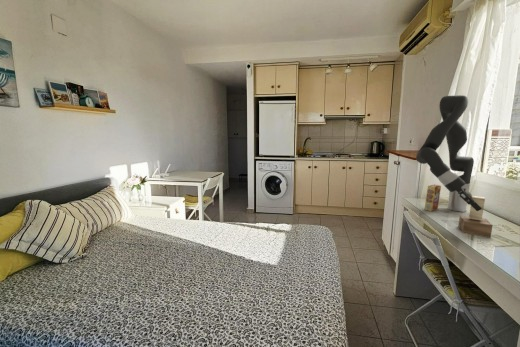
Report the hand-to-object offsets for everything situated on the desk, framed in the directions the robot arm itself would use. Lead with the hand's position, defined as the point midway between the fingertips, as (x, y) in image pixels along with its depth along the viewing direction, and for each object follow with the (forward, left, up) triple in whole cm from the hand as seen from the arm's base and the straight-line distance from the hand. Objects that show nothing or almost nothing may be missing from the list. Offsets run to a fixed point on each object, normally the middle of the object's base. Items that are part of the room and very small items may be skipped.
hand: (479, 208), depth 118 cm
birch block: (0, -1, -5) cm, 5 cm away
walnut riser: (0, -1, -12) cm, 12 cm away
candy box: (-30, -21, -12) cm, 38 cm away
